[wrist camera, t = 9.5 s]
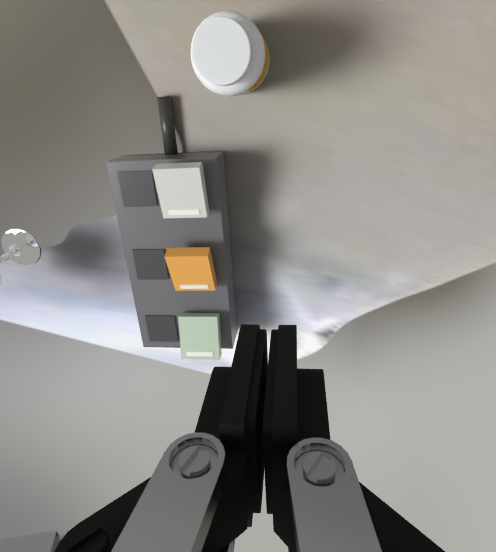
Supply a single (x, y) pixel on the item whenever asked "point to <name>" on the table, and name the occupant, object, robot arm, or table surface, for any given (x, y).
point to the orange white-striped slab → (191, 268)
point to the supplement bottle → (229, 54)
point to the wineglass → (19, 247)
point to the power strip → (172, 240)
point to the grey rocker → (181, 190)
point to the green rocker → (200, 335)
